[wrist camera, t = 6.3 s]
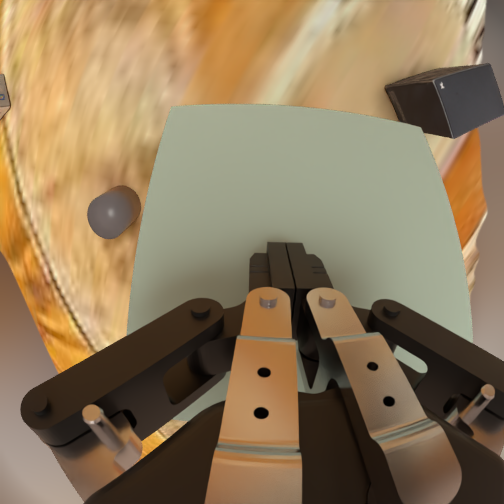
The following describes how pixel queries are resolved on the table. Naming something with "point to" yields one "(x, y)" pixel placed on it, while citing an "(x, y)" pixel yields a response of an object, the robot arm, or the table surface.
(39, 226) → the table surface
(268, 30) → the table surface
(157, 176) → the lid
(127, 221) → the dark grey cylinder
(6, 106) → the hard drive box
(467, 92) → the small box
